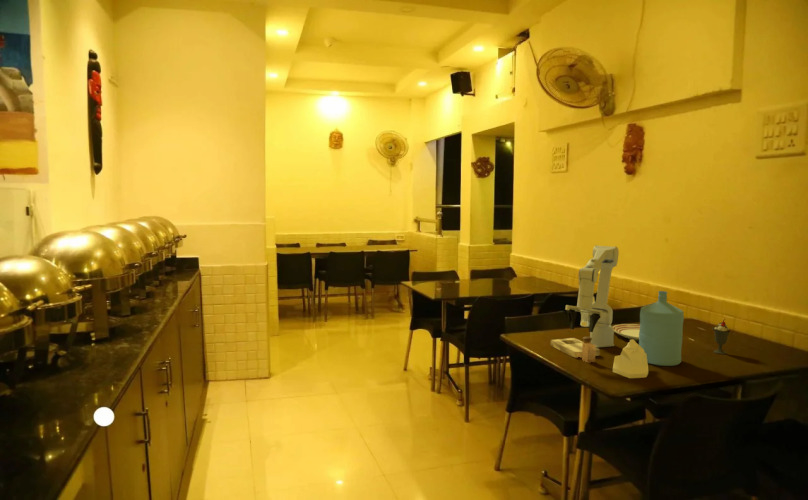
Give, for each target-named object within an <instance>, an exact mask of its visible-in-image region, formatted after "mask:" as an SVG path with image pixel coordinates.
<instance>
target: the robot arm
mask: <svg viewBox="0 0 808 500" xmlns="http://www.w3.org/2000/svg"><path fill="white" fill-rule="evenodd" d="M618 261H619V248H618V247H617V246H610V245H609V246H608V245H606V246H605V245H598V244H597V245H594V247H593V249H592V258H590V259H589V260H588V261H587V263H586V264H585V266H584V267H581V268H579V271H578V295H577V303H576V305H569V304H566V305H565V309H564V310H565V311H566V314H567V317H568V320H569V327H570V330H574V329H575V326H576V318H577V315H578V312H579V313H581V312H583V313H587V321H588V323H589V325H590V326H589V327H588V332H589V334H590V335H589V337H591V338H592V340H591V343H592V344H594V345H596V346H595V348H598V349H599V348H607V347H615V344H614V339H615V338H614V337H615V336H614V335H615V332H614V330H613V325H612V323H613V315H614V314H613V313H614V311H613V309H612V307H611V306H610V305H609V304H608V299H609V293H610V285H611V278H612V271H613V268H615V267H617V266H618ZM597 280H598V284H597V290H596V291H597V292H596V297H595V303H593V304H592V302H593V296H594V291H595V284H596V282H597ZM580 310H587V311H588V312H585V311H580Z"/></svg>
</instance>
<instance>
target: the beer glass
mask: <svg viewBox="0 0 808 500" xmlns="http://www.w3.org/2000/svg"><path fill="white" fill-rule="evenodd" d="M595 302H596V299H595V296H594V295H593V302H592V304H593V303H595ZM579 311H585V312H588V311H587V310H579ZM579 325H580V326H581V327H584V328H589V326H590V325H589V323H588V321H587V313H583V312H580V324H579Z"/></svg>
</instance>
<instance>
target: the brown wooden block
mask: <svg viewBox="0 0 808 500" xmlns="http://www.w3.org/2000/svg"><path fill="white" fill-rule="evenodd" d="M595 346H596V345H594V344H592V343H583V345H582V357H581V360H583V361H582V362H584V361H585V362H584V363H586V362H587V363H586V364H591V362H593V363H595V362H596V356H595V348H596V347H595Z"/></svg>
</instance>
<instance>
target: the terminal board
mask: <svg viewBox="0 0 808 500" xmlns="http://www.w3.org/2000/svg"><path fill="white" fill-rule="evenodd" d="M582 340H583V341H582ZM582 340H580V339H578V338H575V337H569V338H568V337H567V338H558V339H550V347H552V348H555V349H557V350H559V351H560V352H562V353H563V354H566V355H568V356H570V357H572V358H573V357H574V359H577V358H578V357H580V358H582V345H583V343H591V340H592V338H591V337H590V336H583V337H582ZM596 356H597V357H598V356H599V357H600V356H601V350H600V348H599V347H598V348H596V347H595V357H596Z"/></svg>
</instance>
